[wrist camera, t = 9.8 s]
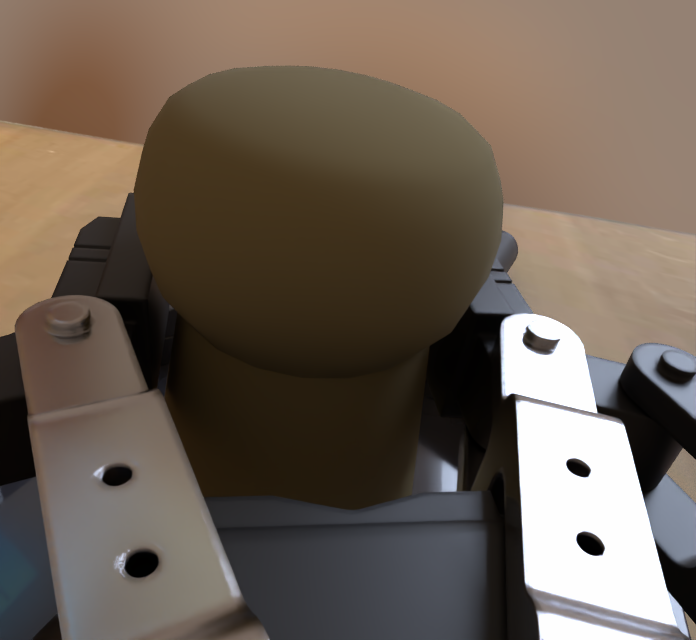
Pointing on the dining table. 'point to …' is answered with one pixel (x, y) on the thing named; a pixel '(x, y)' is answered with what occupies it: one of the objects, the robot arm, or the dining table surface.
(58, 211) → the dining table surface
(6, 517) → the pan
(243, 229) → the olive game pawn
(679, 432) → the robot arm
